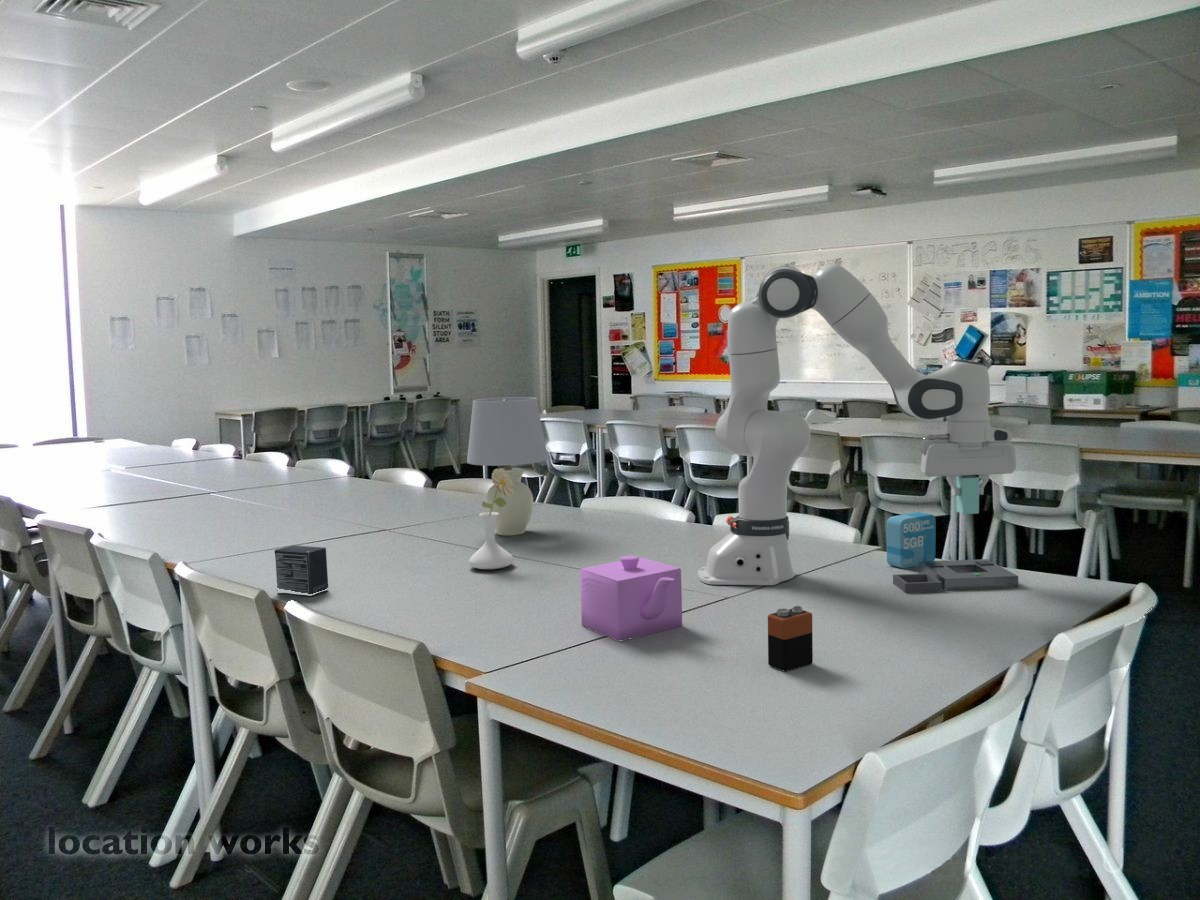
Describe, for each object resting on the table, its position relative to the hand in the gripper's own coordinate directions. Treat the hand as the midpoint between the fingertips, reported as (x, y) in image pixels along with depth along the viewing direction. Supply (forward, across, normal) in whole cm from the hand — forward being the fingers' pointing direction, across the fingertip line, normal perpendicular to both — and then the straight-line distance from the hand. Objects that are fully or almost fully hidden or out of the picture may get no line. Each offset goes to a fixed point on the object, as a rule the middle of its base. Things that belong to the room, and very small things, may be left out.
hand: (967, 494), depth 211 cm
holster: (+19, -13, -5) cm, 24 cm away
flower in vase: (+19, -109, +29) cm, 115 cm away
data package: (+20, -7, +16) cm, 26 cm away
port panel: (+19, 0, 0) cm, 19 cm away
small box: (+19, -152, +11) cm, 154 cm away
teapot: (+19, -76, -26) cm, 83 cm away
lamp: (+19, -108, +72) cm, 131 cm away
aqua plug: (+4, 0, 0) cm, 4 cm away
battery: (+19, -51, -51) cm, 75 cm away
